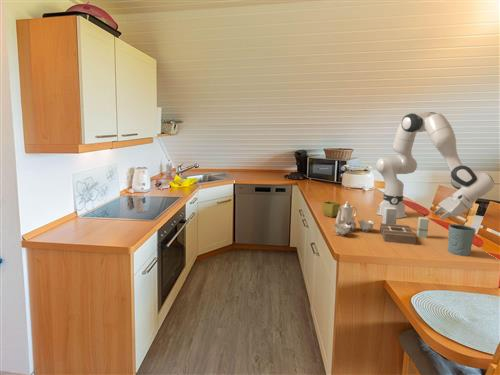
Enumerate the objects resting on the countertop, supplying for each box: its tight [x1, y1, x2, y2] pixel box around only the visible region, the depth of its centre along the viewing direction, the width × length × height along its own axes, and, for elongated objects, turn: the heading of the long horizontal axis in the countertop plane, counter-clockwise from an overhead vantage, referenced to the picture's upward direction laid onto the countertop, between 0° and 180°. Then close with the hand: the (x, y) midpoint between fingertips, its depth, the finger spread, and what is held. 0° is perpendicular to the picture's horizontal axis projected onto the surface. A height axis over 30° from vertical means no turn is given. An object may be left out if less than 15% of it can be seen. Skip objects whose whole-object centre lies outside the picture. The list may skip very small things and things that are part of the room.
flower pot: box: [321, 200, 341, 218], centre depth 204 cm, size 9×9×9 cm
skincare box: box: [381, 207, 397, 225], centre depth 178 cm, size 6×4×12 cm
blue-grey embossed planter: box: [447, 223, 476, 257], centre depth 142 cm, size 10×10×12 cm
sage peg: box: [416, 216, 430, 239], centre depth 165 cm, size 4×4×10 cm
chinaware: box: [331, 201, 376, 237], centre depth 171 cm, size 28×17×17 cm, turn 122°
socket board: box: [379, 222, 417, 245], centre depth 164 cm, size 20×14×4 cm
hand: (437, 216), depth 162 cm, fingers open, 8 cm apart
